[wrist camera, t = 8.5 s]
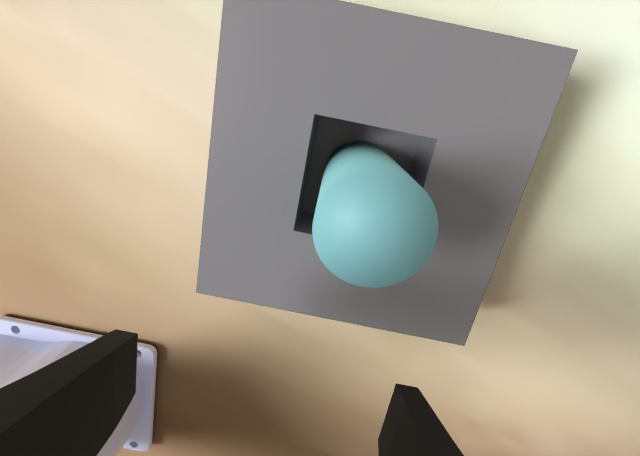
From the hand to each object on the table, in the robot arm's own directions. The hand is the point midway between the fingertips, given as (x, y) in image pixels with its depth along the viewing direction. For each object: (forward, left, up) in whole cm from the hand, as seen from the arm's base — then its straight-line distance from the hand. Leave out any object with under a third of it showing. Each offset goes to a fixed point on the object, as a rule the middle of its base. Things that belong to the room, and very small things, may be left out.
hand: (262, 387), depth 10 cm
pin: (+2, +5, -9) cm, 10 cm away
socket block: (+2, +5, -9) cm, 11 cm away
